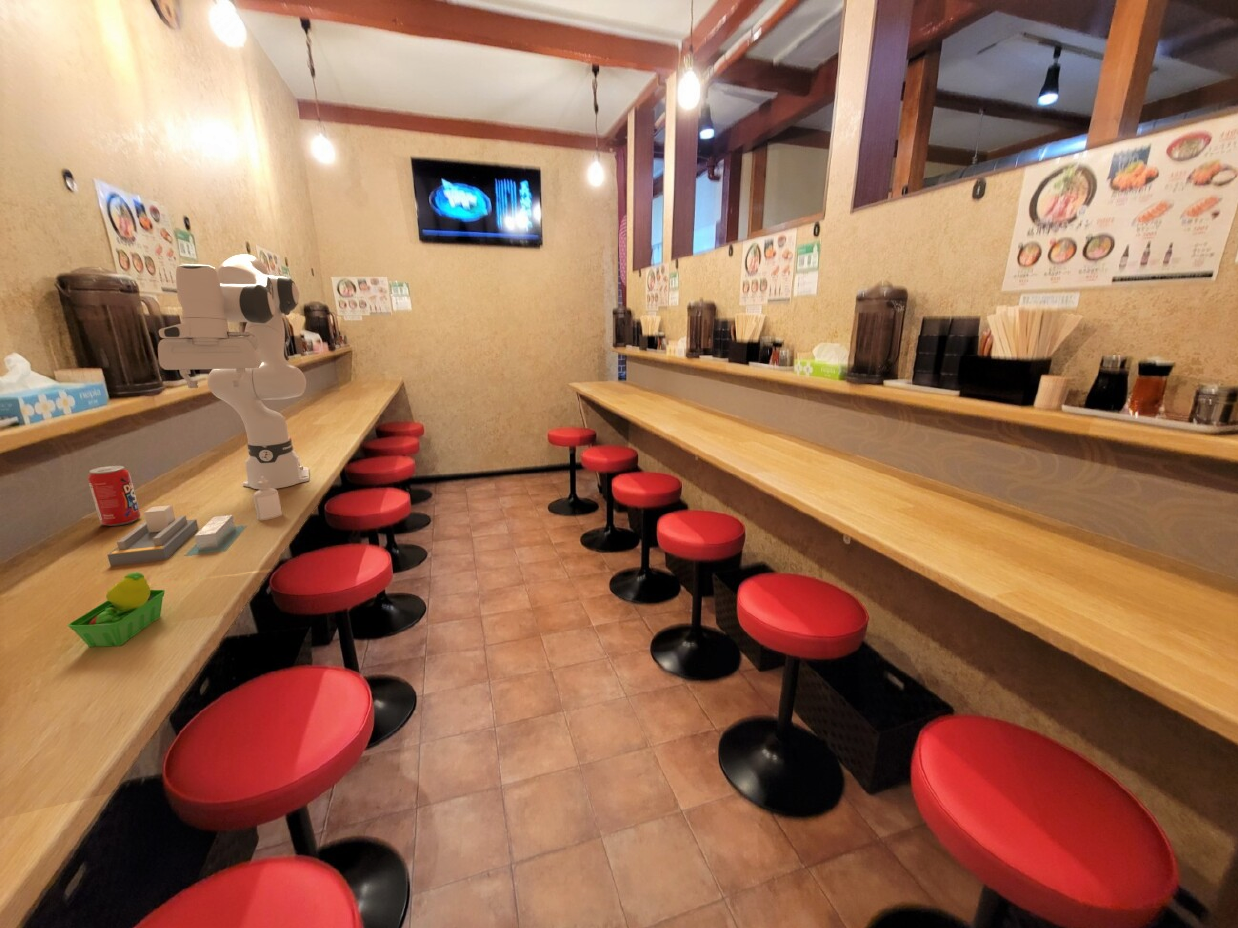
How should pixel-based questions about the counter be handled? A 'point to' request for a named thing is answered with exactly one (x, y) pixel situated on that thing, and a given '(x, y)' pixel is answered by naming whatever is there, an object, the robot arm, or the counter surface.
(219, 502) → the counter surface
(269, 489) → the eye dropper bottle
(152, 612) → the fruit basket
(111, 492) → the soda can
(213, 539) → the bar
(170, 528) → the switch panel
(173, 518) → the switch tab
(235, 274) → the robot arm
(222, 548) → the mat
